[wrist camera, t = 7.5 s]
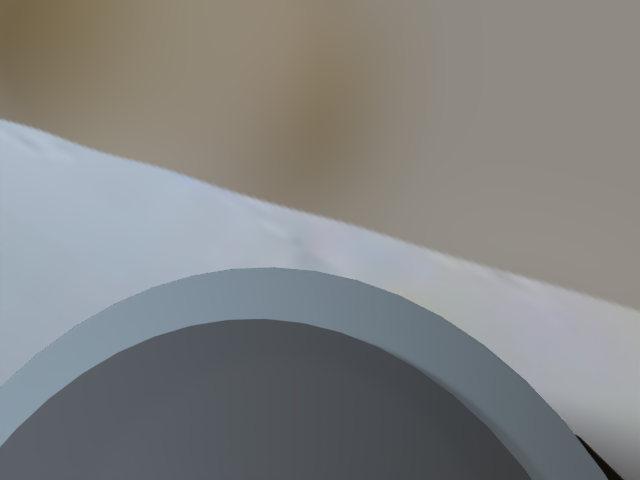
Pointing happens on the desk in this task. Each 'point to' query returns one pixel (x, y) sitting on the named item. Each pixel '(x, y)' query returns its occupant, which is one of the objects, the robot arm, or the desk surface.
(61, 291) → the desk surface
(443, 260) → the desk surface
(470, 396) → the tumbler
